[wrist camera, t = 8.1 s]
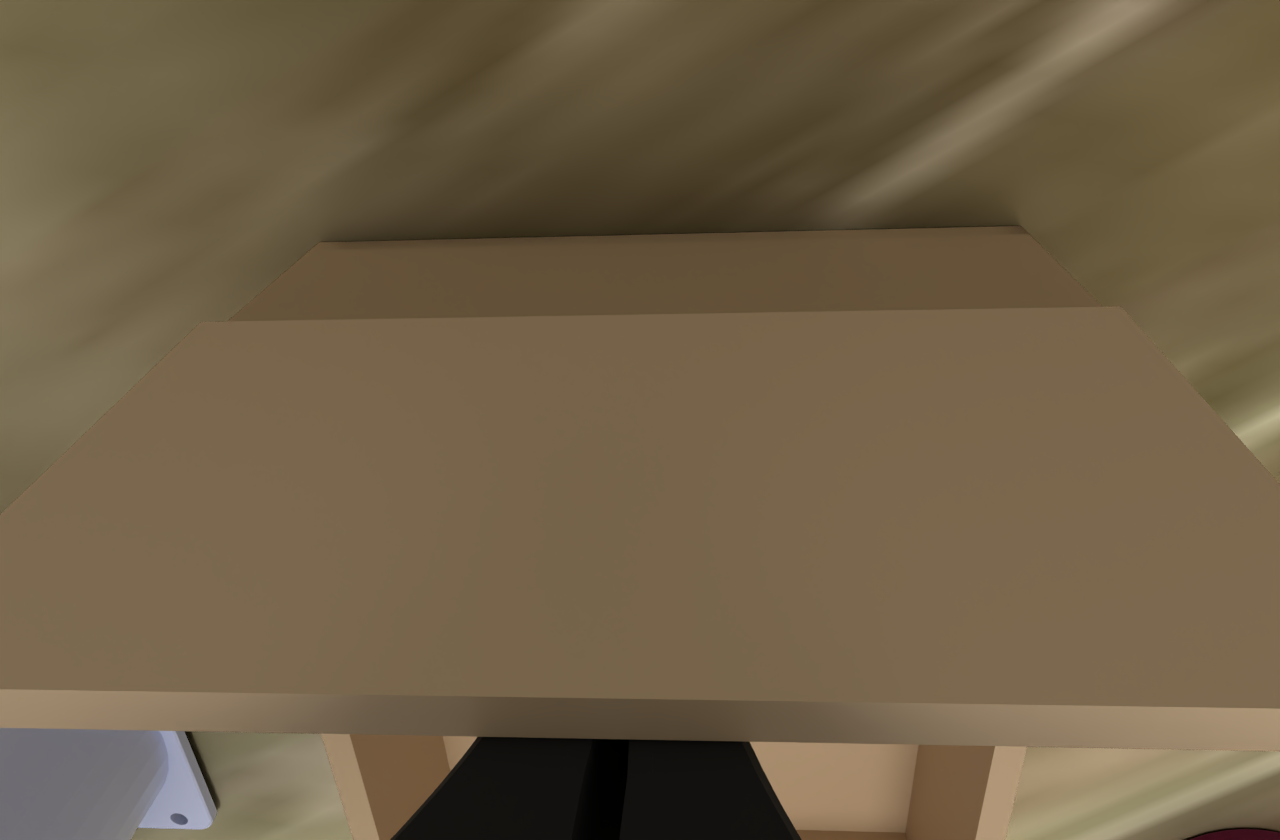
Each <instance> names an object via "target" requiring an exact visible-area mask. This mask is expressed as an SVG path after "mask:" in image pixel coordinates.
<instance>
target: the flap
mask: <svg viewBox="0 0 1280 840" xmlns="http://www.w3.org/2000/svg"><path fill="white" fill-rule="evenodd" d="M0 728H40V729H94V730H148V731H202V732H256V733H311V734H365V735H419V736H473V737H527V738H581V739H635V740H690V741H744V742H798V743H852V744H906V745H960V746H1015V747H1069V748H1123V749H1177V750H1231V751H1280V484H1279V483H1278V482H1277V481H1276V479H1275V478H1274V477H1273V476H1272V475H1271V474H1270V473H1269V472H1268V471H1267V469H1266V468H1265V467H1264V466H1263V465H1262V464H1261V463H1260V462H1259V460H1258V459H1257V458H1256V457H1255V456H1254V455H1253V454H1252V453H1251V452H1250V450H1249V449H1248V448H1247V447H1246V446H1245V445H1244V444H1243V443H1242V441H1241V440H1240V439H1239V438H1238V437H1237V436H1236V435H1235V434H1234V432H1233V431H1232V430H1231V429H1230V428H1229V427H1228V426H1227V425H1226V424H1225V422H1224V421H1223V420H1222V419H1221V418H1220V417H1219V416H1218V415H1217V413H1216V412H1215V411H1214V410H1213V409H1212V408H1211V407H1210V406H1209V405H1208V403H1207V402H1206V401H1205V400H1204V399H1203V398H1202V397H1201V396H1200V394H1199V393H1198V392H1197V391H1196V390H1195V389H1194V388H1193V387H1192V385H1191V384H1190V383H1189V382H1188V381H1187V380H1186V379H1185V378H1184V377H1183V375H1182V374H1181V373H1180V372H1179V371H1178V370H1177V369H1176V368H1175V366H1174V365H1173V364H1172V363H1171V362H1170V361H1169V360H1168V359H1167V358H1166V356H1165V355H1164V354H1163V353H1162V352H1161V351H1160V350H1159V349H1158V347H1157V346H1156V345H1155V344H1154V343H1153V342H1152V341H1151V340H1150V338H1149V337H1148V336H1147V335H1146V334H1145V333H1144V332H1143V331H1142V330H1141V328H1140V327H1139V326H1138V325H1137V324H1136V323H1135V322H1134V321H1133V319H1132V318H1131V317H1130V316H1129V315H1128V314H1127V313H1126V312H1125V311H1124V309H1123V308H1122V307H1062V308H1003V309H943V310H883V311H824V312H764V313H704V314H645V315H585V316H525V317H466V318H406V319H346V320H287V321H227V322H200V323H199V324H198V325H197V326H196V327H195V328H194V329H193V330H192V331H191V332H190V333H189V334H188V335H187V336H186V337H185V338H184V339H183V340H182V341H181V342H180V343H178V344H177V345H176V346H175V347H174V348H173V349H172V350H171V351H170V352H169V353H168V354H167V355H166V356H165V357H164V358H163V359H162V360H161V361H160V362H159V363H158V364H157V365H156V366H155V367H153V368H152V369H151V370H150V371H149V372H148V373H147V374H146V375H145V376H144V377H143V378H142V379H141V380H140V381H139V382H138V383H137V384H136V385H135V386H134V387H133V388H132V389H131V390H130V391H129V392H127V393H126V394H125V395H124V396H123V397H122V398H121V399H120V400H119V401H118V402H117V403H116V404H115V405H114V406H113V407H112V408H111V409H110V410H109V411H108V412H107V413H106V414H105V415H104V416H103V417H101V418H100V419H99V420H98V421H97V422H96V423H95V424H94V425H93V426H92V427H91V428H90V429H89V430H88V431H87V432H86V433H85V434H84V435H83V436H82V437H81V438H80V439H79V440H78V441H77V442H75V443H74V444H73V445H72V446H71V447H70V448H69V449H68V450H67V451H66V452H65V453H64V454H63V455H62V456H61V457H60V458H59V459H58V460H57V461H56V462H55V463H54V464H53V465H52V466H50V467H49V468H48V469H47V470H46V471H45V472H44V473H43V474H42V475H41V476H40V477H39V478H38V479H37V480H36V481H35V482H34V483H33V484H32V485H31V486H30V487H29V488H28V489H27V490H26V491H24V492H23V493H22V494H21V495H20V496H19V497H18V498H17V499H16V500H15V501H14V502H13V503H12V504H11V505H10V506H9V507H8V508H7V509H6V510H5V511H4V512H3V513H2V514H1V515H0Z"/></svg>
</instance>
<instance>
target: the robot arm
mask: <svg viewBox="0 0 1280 840" xmlns="http://www.w3.org/2000/svg"><path fill="white" fill-rule="evenodd" d="M216 815H217V810H216V807H215V805H214V802H213V800H212V797H211V795H210V793H209V790H208V788H207V785H206V783H205V780H204V778H203V775H202V773H201V771H200V768H199V766H198V763H197V761H196V758H195V756H194V753H193V751H192V749H191V746H190V744H189V741H188V739H187V736H186V734H185V731H148V730H94V729H40V728H0V840H130V839H131V838H132V836H133V834H134V833H135V831H136V830H137V828H167V829H206V828H208V827H210V826H211V824H212V823H213V821H214V819H215V817H216ZM390 840H801V838H800V836H799V834H798V833H797V831H796V829H795V827H794V826H793V824H792V822H791V821H790V819H789V817H788V815H787V814H786V812H785V810H784V808H783V806H782V805H781V803H780V801H779V799H778V797H777V795H776V794H775V792H774V790H773V788H772V786H771V784H770V782H769V780H768V778H767V776H766V774H765V772H764V771H763V769H762V767H761V764H760V762H759V760H758V758H757V756H756V754H755V752H754V750H753V748H752V746H751V744H750V742H744V741H690V740H635V739H581V738H527V737H477V738H476V740H475V741H474V742H473V744H472V745H471V746H470V748H469V749H468V750H467V752H466V753H465V754H464V755H463V757H462V758H461V759H460V760H459V762H458V763H457V764H456V765H455V767H454V768H453V769H452V770H451V771H450V773H449V774H448V775H447V776H446V777H445V779H444V780H443V781H442V782H441V783H440V785H439V786H438V787H437V788H436V789H435V790H434V792H433V793H432V794H431V795H430V796H429V797H428V798H427V800H426V801H425V802H424V803H423V804H422V805H421V806H420V807H419V809H418V810H417V811H416V812H415V813H414V814H413V815H412V816H411V818H410V819H409V820H408V821H407V822H406V823H405V824H404V825H403V826H402V827H401V829H400V830H399V831H398V832H397V833H396V834H395V835H394V836H393V837H392V838H391V839H390Z"/></svg>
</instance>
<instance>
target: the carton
mask: <svg viewBox="0 0 1280 840" xmlns="http://www.w3.org/2000/svg"><path fill="white" fill-rule="evenodd" d="M1062 307H1102V306H1101V305H1100V304H1099V303H1098V302H1097V301H1096V300H1095V299H1094V298H1093V297H1092V296H1091V295H1090V294H1089V293H1088V292H1087V291H1086V290H1085V289H1084V288H1083V287H1082V286H1081V285H1080V284H1079V283H1078V282H1077V281H1076V280H1075V279H1074V278H1073V277H1072V276H1071V275H1070V274H1069V273H1068V272H1067V271H1066V270H1065V269H1064V268H1063V267H1062V266H1061V265H1060V264H1059V263H1058V262H1057V261H1056V260H1055V259H1054V258H1053V257H1052V256H1051V255H1050V254H1049V253H1048V252H1047V251H1046V250H1045V249H1044V248H1043V247H1042V246H1041V245H1040V244H1039V243H1038V242H1037V241H1036V240H1035V239H1034V238H1033V237H1032V236H1031V235H1030V234H1029V233H1028V232H1027V231H1026V230H1025V229H1024V228H1023V227H1022V226H997V227H954V228H911V229H868V230H825V231H783V232H740V233H697V234H654V235H611V236H569V237H526V238H483V239H440V240H397V241H355V242H319V243H318V244H317V245H316V246H314V247H313V248H312V249H311V250H310V251H309V252H307V253H306V254H305V255H304V256H303V257H302V258H300V259H299V260H298V261H297V262H296V263H295V264H293V265H292V266H291V267H290V268H289V269H288V270H286V271H285V272H284V273H283V274H282V275H281V276H279V277H278V278H277V279H276V280H275V281H274V282H272V283H271V284H270V285H269V286H268V287H267V288H265V289H264V290H263V291H262V292H261V293H260V294H259V295H257V296H256V297H255V298H254V299H253V300H252V301H250V302H249V303H248V304H247V305H246V306H245V307H243V308H242V309H241V310H240V311H239V312H238V313H236V314H235V315H234V316H233V317H232V318H231V319H229V320H228V321H287V320H346V319H406V318H466V317H525V316H585V315H645V314H704V313H764V312H824V311H883V310H943V309H1003V308H1062ZM321 736H322V739H323V742H324V746H325V749H326V752H327V755H328V759H329V762H330V765H331V769H332V772H333V775H334V778H335V782H336V785H337V788H338V791H339V795H340V798H341V801H342V805H343V808H344V811H345V814H346V818H347V821H348V824H349V827H350V831H351V834H352V837H353V840H390V839H391V838H392V837H393V836H394V835H395V834H396V833H397V832H398V831H399V830H400V829H401V827H402V826H403V825H404V824H405V823H406V822H407V821H408V820H409V819H410V818H411V816H412V815H413V814H414V813H415V812H416V811H417V810H418V809H419V807H420V806H421V805H422V804H423V803H424V802H425V801H426V800H427V798H428V797H429V796H430V795H431V794H432V793H433V792H434V790H435V789H436V788H437V787H438V786H439V785H440V783H441V782H442V781H443V780H444V779H445V777H446V776H447V775H448V774H449V773H450V771H451V770H452V769H453V768H454V767H455V765H456V764H457V763H458V762H459V760H460V759H461V758H462V757H463V755H464V754H465V753H466V752H467V750H468V749H469V748H470V746H471V745H472V744H473V742H474V741H475V740H476V738H477V737H473V736H419V735H365V734H321ZM750 744H751V746H752V748H753V750H754V752H755V754H756V756H757V758H758V760H759V762H760V764H761V767H762V769H763V771H764V772H765V774H766V776H767V778H768V780H769V782H770V784H771V786H772V788H773V790H774V792H775V794H776V795H777V797H778V799H779V801H780V803H781V805H782V806H783V808H784V810H785V812H786V814H787V815H788V817H789V819H790V821H791V822H792V824H793V826H794V827H795V829H796V831H797V833H798V834H799V836H800V838H801V840H1005V839H1006V834H1007V830H1008V826H1009V822H1010V818H1011V813H1012V809H1013V805H1014V801H1015V796H1016V792H1017V788H1018V784H1019V779H1020V775H1021V771H1022V767H1023V763H1024V758H1025V754H1026V750H1027V747H1015V746H960V745H906V744H852V743H798V742H750Z"/></svg>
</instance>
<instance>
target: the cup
mask: <svg viewBox="0 0 1280 840" xmlns="http://www.w3.org/2000/svg"><path fill="white" fill-rule="evenodd" d="M1189 840H1280V833H1278V832H1272V831H1267V830H1258V829H1236V830H1224V831H1219V832H1214V833H1209V834H1205V835H1202V836H1199V837H1195V838H1192V839H1189Z"/></svg>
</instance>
